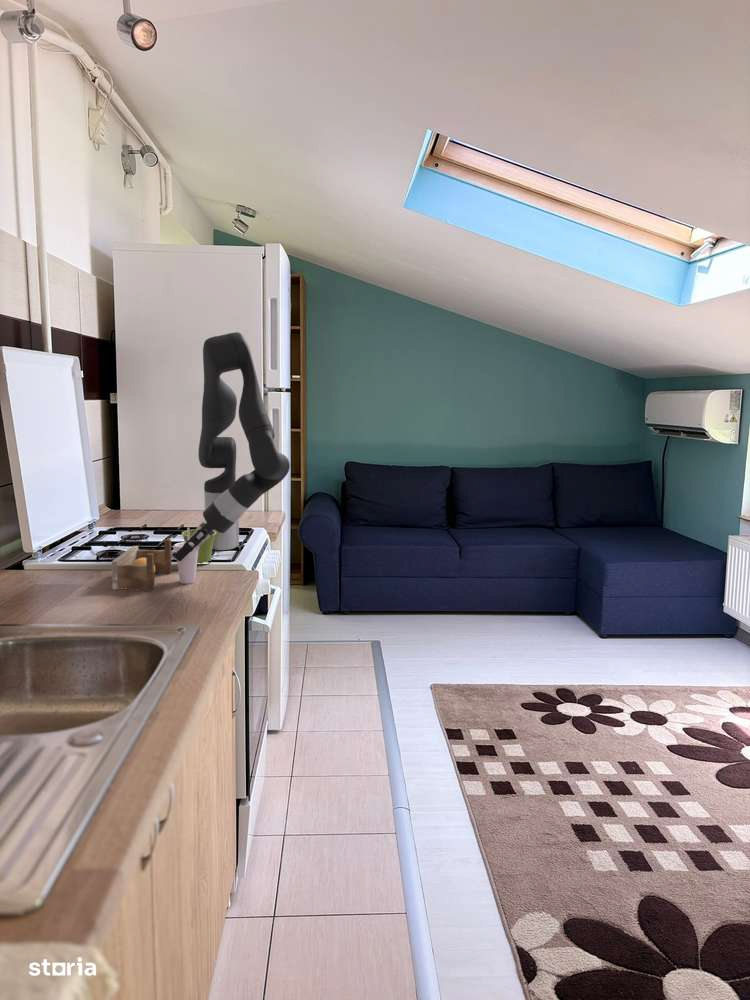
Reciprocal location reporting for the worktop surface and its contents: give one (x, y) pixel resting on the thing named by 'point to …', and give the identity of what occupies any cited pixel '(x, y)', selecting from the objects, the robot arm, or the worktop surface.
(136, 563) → the ball
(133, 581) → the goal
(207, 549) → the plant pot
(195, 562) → the smoothie
